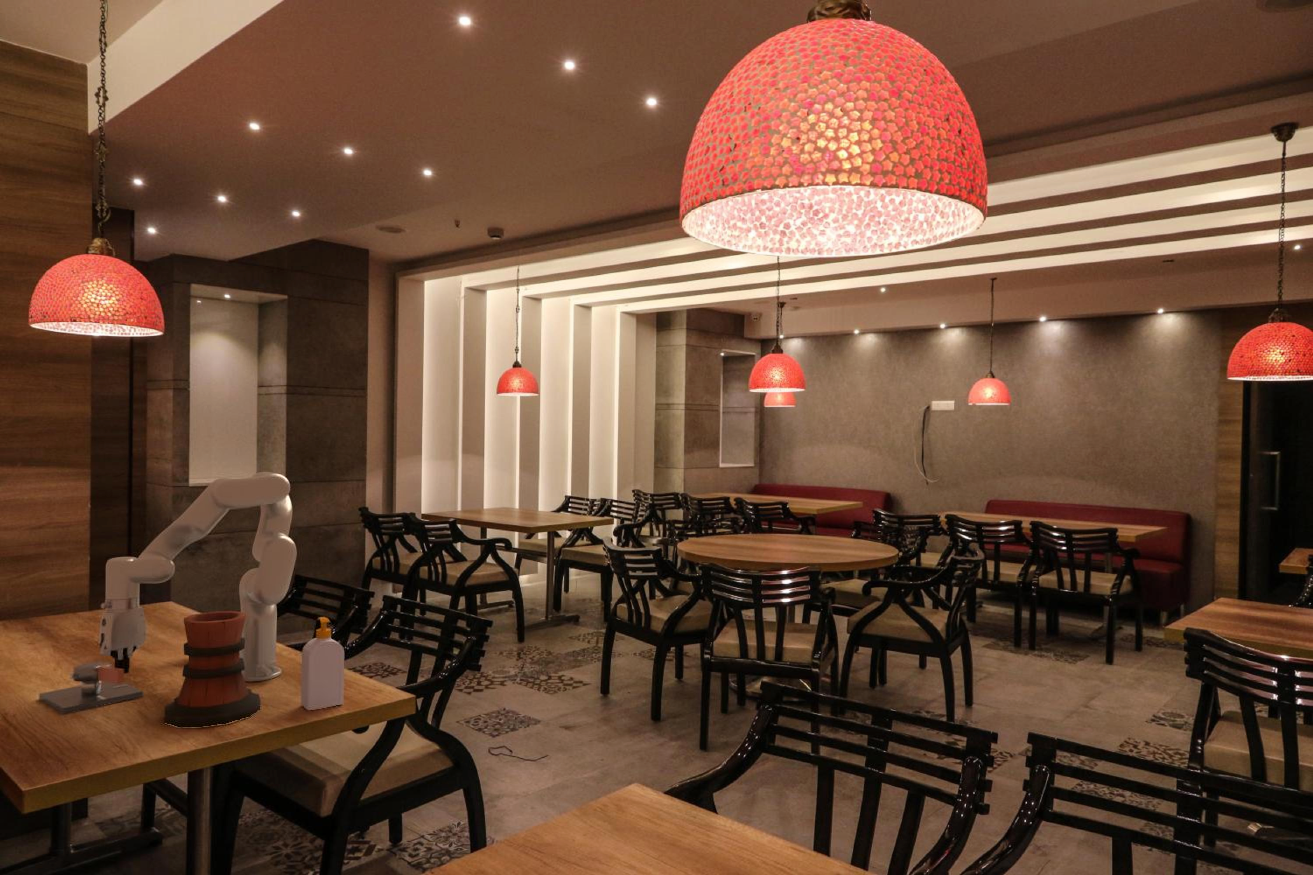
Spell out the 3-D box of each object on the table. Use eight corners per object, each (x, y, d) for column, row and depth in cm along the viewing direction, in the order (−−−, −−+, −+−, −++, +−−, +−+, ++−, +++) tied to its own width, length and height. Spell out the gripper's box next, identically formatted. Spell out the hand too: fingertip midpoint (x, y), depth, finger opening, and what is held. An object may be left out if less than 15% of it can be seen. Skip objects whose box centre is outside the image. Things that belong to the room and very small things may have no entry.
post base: (142, 696, 217) (143, 677, 217) (63, 714, 202) (63, 693, 202) (116, 683, 228) (116, 664, 228) (39, 699, 213) (39, 679, 213)
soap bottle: (334, 698, 218) (336, 613, 219) (343, 705, 213) (345, 618, 213) (299, 704, 213) (301, 617, 213) (307, 711, 207) (309, 622, 207)
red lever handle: (61, 679, 212) (62, 666, 212) (102, 670, 221) (102, 657, 221) (100, 688, 205) (100, 674, 206) (139, 678, 215) (140, 665, 215)
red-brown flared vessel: (149, 731, 192) (151, 628, 192) (181, 699, 216) (183, 607, 216) (251, 724, 198) (253, 624, 198) (270, 693, 222) (272, 604, 222)
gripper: (102, 610, 206) (102, 682, 206) (159, 600, 219) (158, 667, 219) (84, 608, 209) (83, 678, 209) (141, 597, 222) (140, 664, 222)
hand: (122, 672), depth 214 cm, fingers closed
